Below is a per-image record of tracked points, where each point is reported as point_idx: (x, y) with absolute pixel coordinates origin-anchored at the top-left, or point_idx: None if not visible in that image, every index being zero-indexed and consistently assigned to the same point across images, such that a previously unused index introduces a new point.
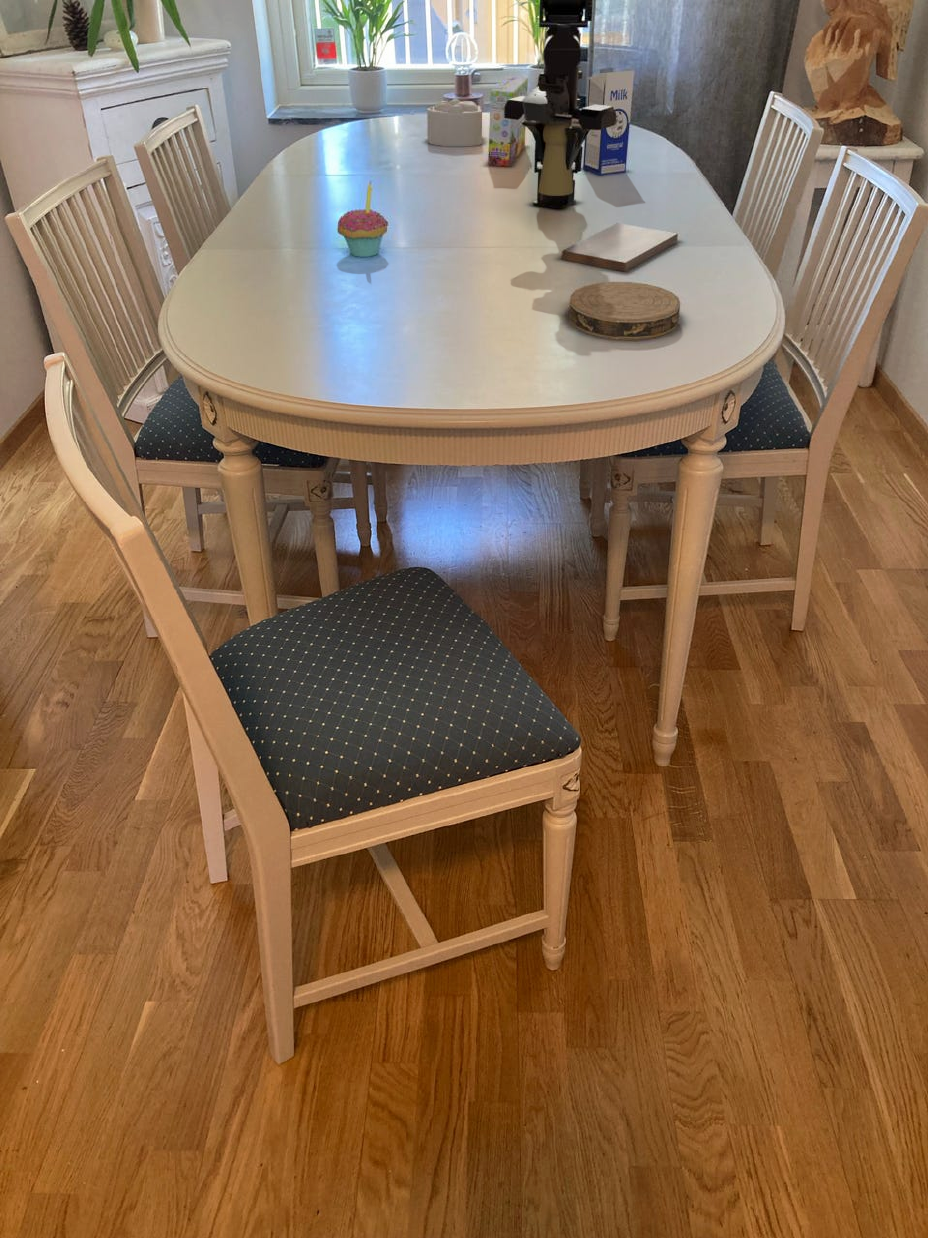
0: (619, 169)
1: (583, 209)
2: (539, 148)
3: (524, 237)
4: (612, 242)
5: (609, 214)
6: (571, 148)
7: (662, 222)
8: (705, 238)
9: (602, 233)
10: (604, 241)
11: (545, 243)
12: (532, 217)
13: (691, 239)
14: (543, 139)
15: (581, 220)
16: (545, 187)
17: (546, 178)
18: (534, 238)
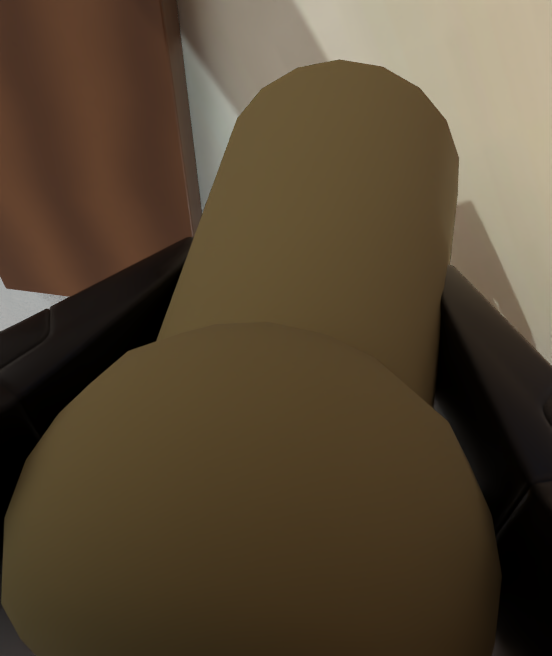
0: None
1: None
2: (510, 350)
3: (508, 55)
4: (56, 83)
5: None
6: (33, 319)
7: None
8: (5, 328)
9: (166, 183)
10: (87, 79)
11: (368, 16)
12: (548, 329)
13: (18, 309)
14: (480, 462)
15: None
16: (363, 85)
17: (354, 114)
18: (451, 68)
